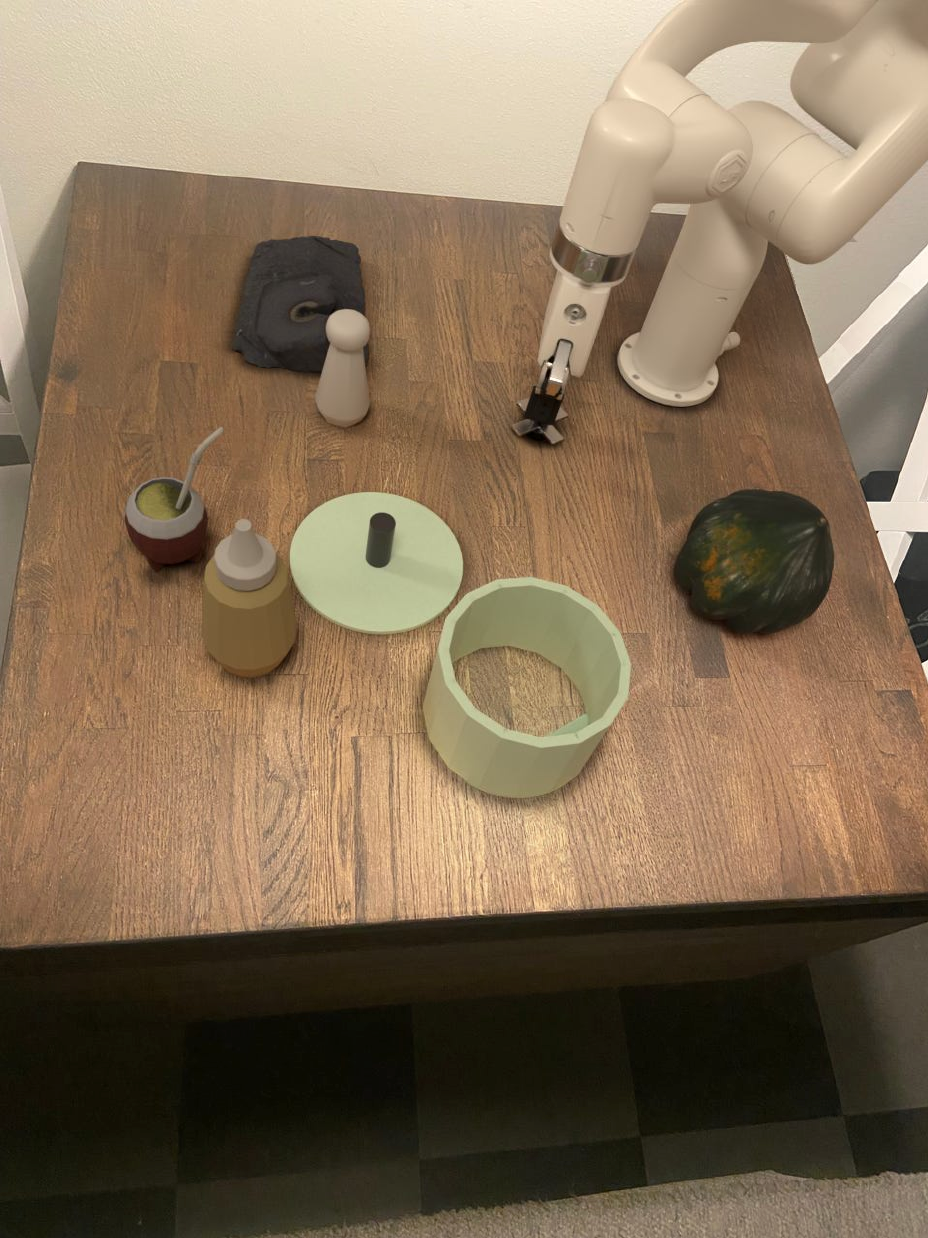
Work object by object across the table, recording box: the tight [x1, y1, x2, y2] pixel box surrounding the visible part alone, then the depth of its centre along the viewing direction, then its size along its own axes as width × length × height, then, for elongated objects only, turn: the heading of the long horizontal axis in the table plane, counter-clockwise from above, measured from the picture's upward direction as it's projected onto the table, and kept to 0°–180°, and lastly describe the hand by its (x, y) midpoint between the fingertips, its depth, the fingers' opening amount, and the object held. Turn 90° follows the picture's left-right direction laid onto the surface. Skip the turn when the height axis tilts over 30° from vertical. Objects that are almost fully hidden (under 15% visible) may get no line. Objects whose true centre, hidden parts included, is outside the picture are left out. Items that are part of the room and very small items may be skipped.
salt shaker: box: [314, 309, 371, 429], centre depth 94 cm, size 6×6×13 cm
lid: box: [289, 491, 464, 636], centre depth 87 cm, size 17×17×7 cm
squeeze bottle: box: [200, 518, 298, 678], centre depth 75 cm, size 8×8×18 cm
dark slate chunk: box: [231, 235, 370, 374], centre depth 106 cm, size 15×22×5 cm
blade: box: [510, 369, 569, 446], centre depth 100 cm, size 7×7×8 cm
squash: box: [672, 488, 835, 635], centre depth 90 cm, size 14×15×15 cm
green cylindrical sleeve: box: [422, 576, 632, 799], centre depth 78 cm, size 16×16×10 cm
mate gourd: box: [124, 425, 225, 574], centre depth 80 cm, size 8×8×15 cm
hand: (544, 389), depth 98 cm, fingers open, 9 cm apart
